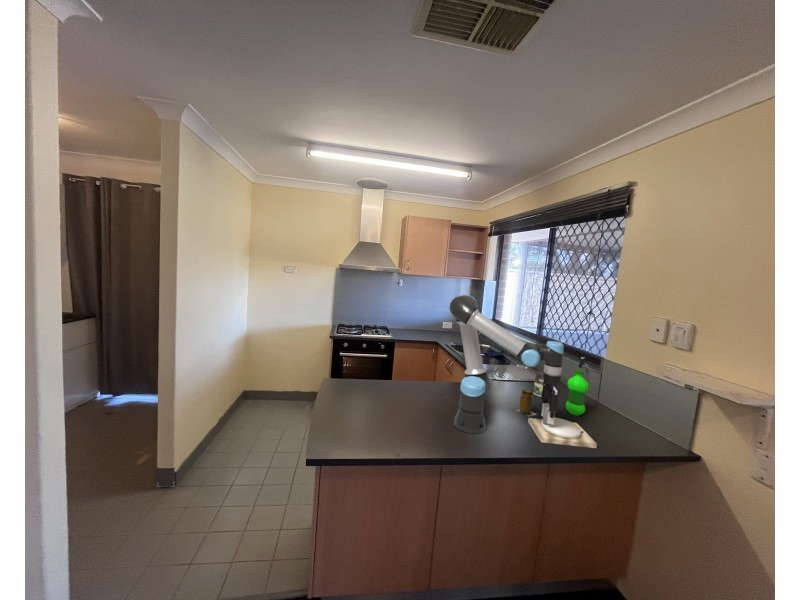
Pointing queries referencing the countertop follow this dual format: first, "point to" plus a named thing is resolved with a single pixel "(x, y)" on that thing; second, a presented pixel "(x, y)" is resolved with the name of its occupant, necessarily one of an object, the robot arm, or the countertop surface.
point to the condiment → (526, 403)
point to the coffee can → (538, 383)
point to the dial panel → (549, 438)
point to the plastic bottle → (577, 393)
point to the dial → (560, 426)
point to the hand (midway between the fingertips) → (547, 419)
